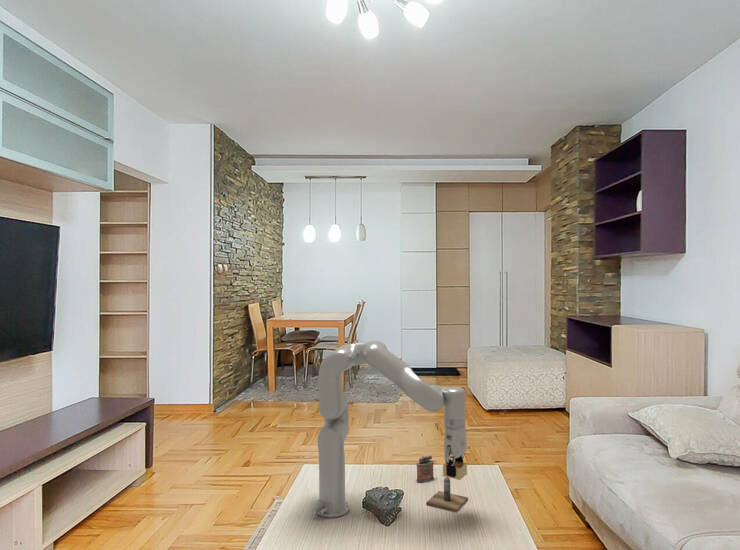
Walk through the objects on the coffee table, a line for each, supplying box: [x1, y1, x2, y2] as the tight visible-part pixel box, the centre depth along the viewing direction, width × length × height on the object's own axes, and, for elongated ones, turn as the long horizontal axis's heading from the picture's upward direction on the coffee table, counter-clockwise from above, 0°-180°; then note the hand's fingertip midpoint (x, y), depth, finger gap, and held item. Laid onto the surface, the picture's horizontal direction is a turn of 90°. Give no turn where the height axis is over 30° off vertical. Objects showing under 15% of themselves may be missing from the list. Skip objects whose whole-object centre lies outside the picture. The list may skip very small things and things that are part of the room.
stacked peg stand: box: [425, 477, 469, 513], centre depth 187 cm, size 12×12×9 cm
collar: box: [442, 461, 468, 481], centre depth 176 cm, size 6×6×4 cm
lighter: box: [416, 455, 435, 484], centre depth 208 cm, size 8×3×10 cm, turn 118°
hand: (454, 472), depth 176 cm, fingers closed on collar, 6 cm apart
